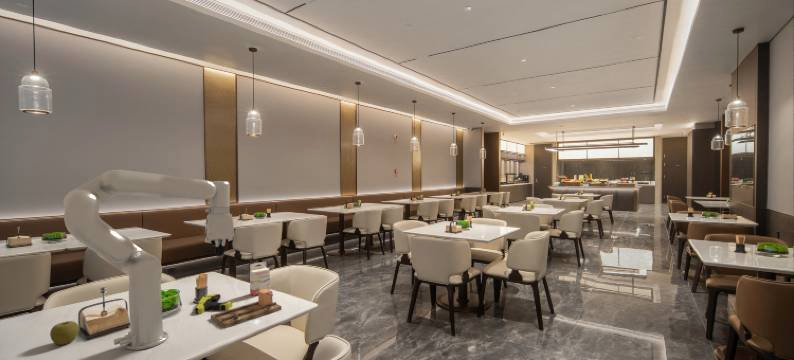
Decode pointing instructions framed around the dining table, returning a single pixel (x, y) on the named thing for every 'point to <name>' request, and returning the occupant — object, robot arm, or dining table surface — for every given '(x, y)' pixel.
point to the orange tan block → (265, 297)
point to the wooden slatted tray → (244, 313)
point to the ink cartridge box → (259, 278)
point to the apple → (64, 332)
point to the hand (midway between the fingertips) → (219, 255)
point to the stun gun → (211, 304)
